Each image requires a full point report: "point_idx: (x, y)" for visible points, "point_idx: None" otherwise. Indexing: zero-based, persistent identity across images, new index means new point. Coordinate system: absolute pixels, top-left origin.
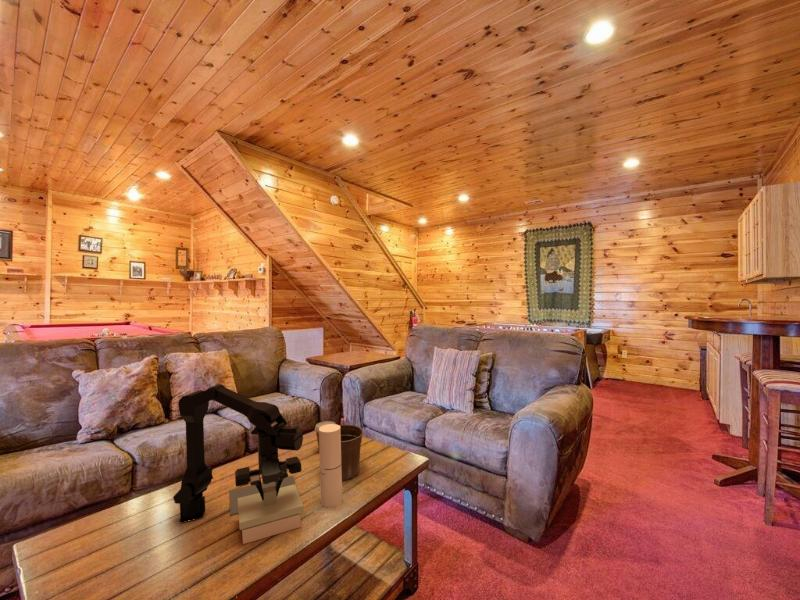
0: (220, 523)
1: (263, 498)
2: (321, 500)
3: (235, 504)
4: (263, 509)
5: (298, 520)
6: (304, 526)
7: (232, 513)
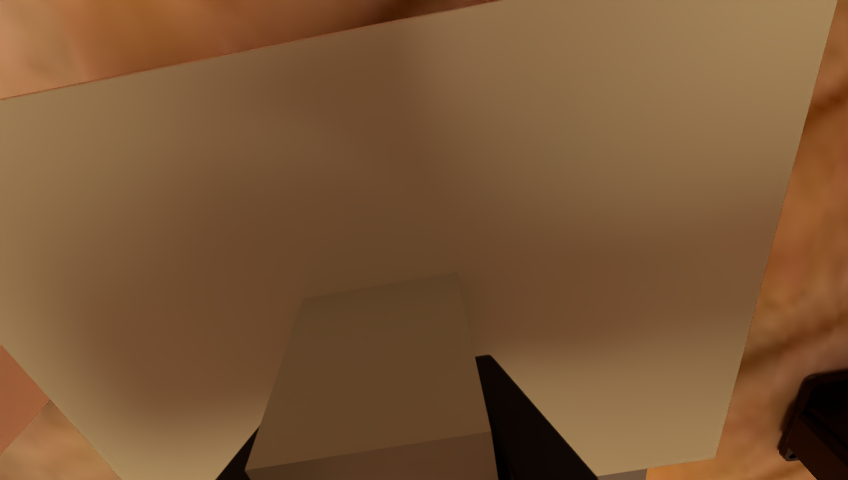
0: None
1: (479, 371)
2: (7, 363)
3: None
4: (464, 208)
5: None
6: None
7: None
